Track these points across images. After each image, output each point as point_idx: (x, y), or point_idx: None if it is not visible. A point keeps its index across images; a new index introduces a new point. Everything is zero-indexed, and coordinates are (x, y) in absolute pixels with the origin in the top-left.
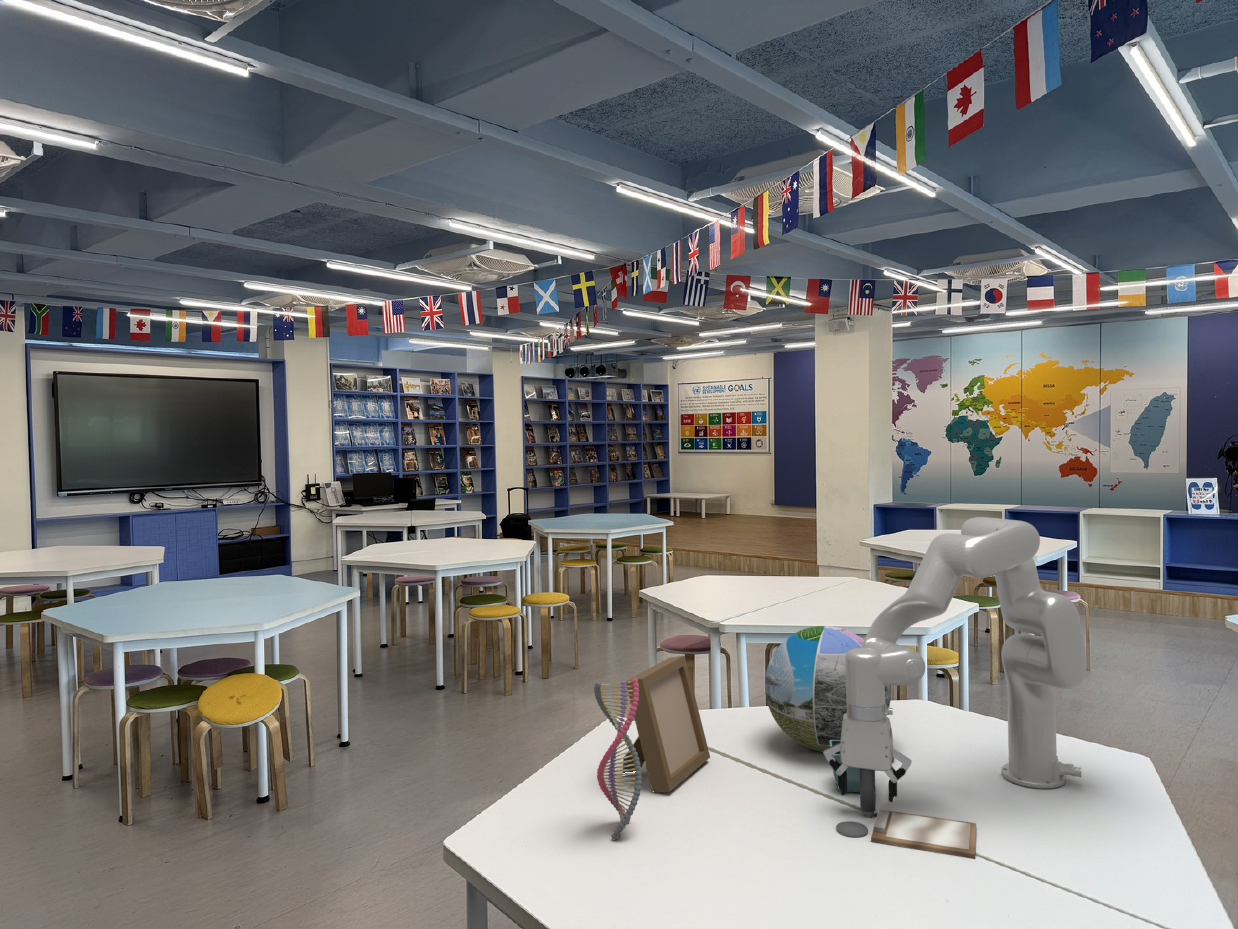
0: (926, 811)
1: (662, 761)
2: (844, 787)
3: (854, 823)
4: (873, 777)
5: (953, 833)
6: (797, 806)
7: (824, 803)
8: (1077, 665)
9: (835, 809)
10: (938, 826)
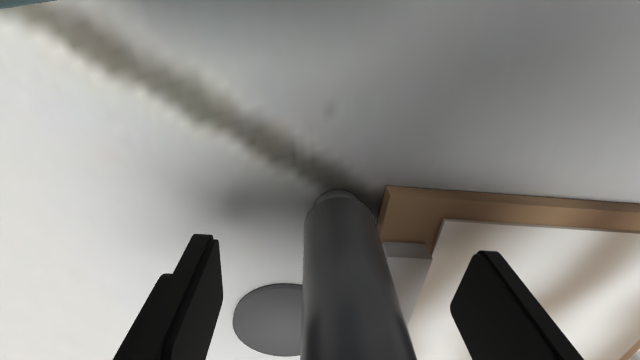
0: (620, 110)
1: None
2: (208, 341)
3: (289, 299)
4: None
5: (617, 313)
6: (20, 206)
7: (118, 146)
8: None
9: (190, 194)
10: (591, 285)
